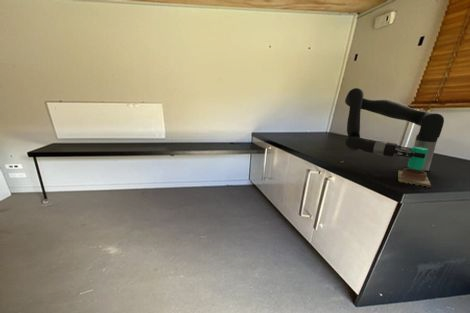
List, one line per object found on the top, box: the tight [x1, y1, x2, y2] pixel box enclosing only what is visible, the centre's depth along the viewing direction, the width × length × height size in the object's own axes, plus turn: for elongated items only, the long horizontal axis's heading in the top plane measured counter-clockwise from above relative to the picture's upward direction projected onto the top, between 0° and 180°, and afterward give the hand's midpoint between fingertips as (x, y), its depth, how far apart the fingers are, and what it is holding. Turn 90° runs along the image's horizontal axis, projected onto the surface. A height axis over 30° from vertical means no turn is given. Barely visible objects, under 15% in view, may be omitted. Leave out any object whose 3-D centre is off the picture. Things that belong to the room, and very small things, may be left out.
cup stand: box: [397, 167, 432, 188], centre depth 106 cm, size 18×12×4 cm, turn 142°
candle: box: [407, 146, 428, 171], centre depth 104 cm, size 6×6×12 cm
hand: (425, 155), depth 101 cm, fingers closed on candle, 5 cm apart
